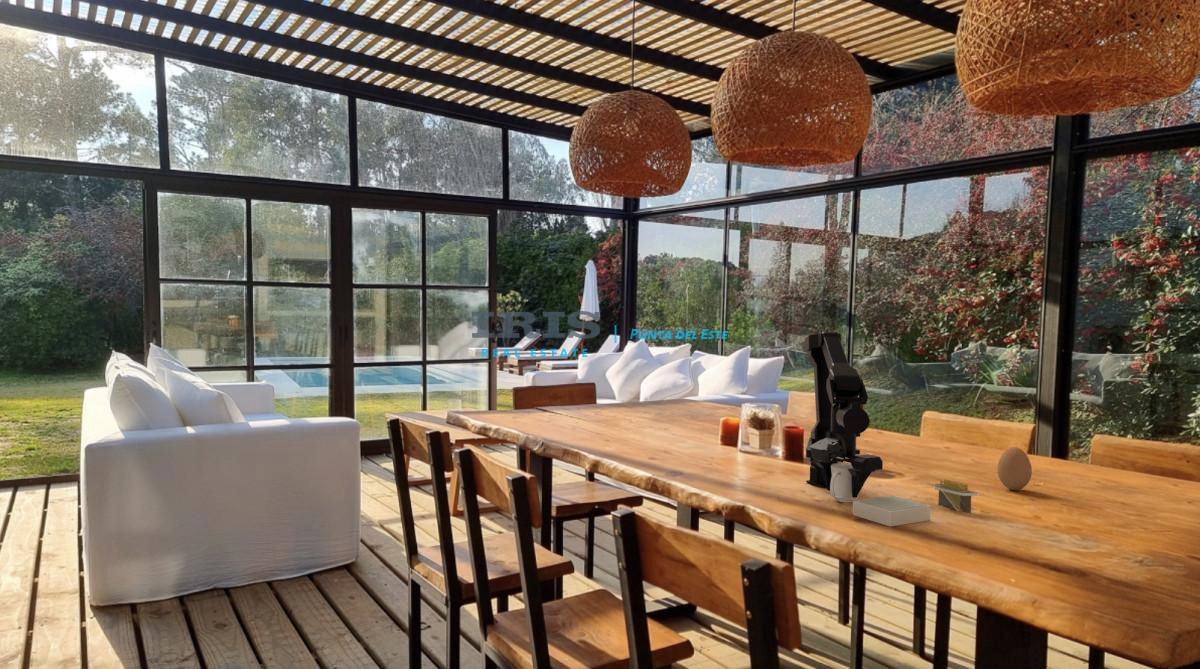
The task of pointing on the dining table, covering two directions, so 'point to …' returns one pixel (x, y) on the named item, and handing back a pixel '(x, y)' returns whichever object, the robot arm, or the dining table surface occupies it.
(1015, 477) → the egg
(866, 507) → the slab
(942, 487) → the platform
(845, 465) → the cup
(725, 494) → the dining table surface
